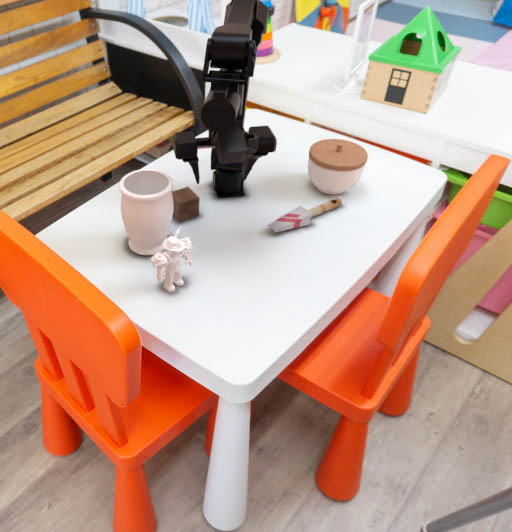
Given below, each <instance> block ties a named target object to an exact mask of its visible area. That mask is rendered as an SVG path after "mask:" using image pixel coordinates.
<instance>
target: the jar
mask: <svg viewBox="0 0 512 532" xmlns="http://www.w3.org/2000/svg"><path fill="white" fill-rule="evenodd" d="M118 186H119V192H120V193H121V197H120V215H121V219H122V223H123V226H124V230H125V233H126V236H127V237H128V242H127V243H128V246H129V247H128V248H129V249H130V250H131V251H132V252H133V253H135V254H137V255H139V256H154V255H156V254H157V253H158V252H162V253H163V251H165V249H164V247H163V242H164V240H165V239H168V237H169V234H170V231H171V227H172V221H173V218H174V216H173V196H172V191H173V189H174V179H173V177H172V176H171V175H170V174H169V173H167V172H166V171H163V170H161V169H155V168H143V169H142V168H141V169H137V170H132V171H130V172H128V173H127V174H125V175H124V176H123V177H122V178H121V179H120V180H119V185H118Z"/></svg>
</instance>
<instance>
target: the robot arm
mask: <svg viewBox="0 0 512 532" xmlns="http://www.w3.org/2000/svg"><path fill="white" fill-rule="evenodd" d="M268 23H269V6H268V5H266V4H265V3H263V1H261V0H231V1H229V3H228V4H227V5H226V6H225V11H224V19H223V24H222V25H219V26H216V27H215V28H214V30H213V31H212V33H211V36H210V37H208V38H207V40H206V47H205V53H204V61H203V68H202V74H201V76H202V77H201V82H202V83H210V88H209V91H208V93H207V96H206V98H205V100H204V103H203V104H202V107H201V110H200V120H201V123H202V124H203V126H204V128H206V129H207V130H208V137H207V136H206V137H196V136H195V132H194V131H191V130H190V131H178V132H174V133H173V135H172V137H171V145H172V150H173V153H174V157H175V159H176V160H182V162H183V163H188V164H189V165H190V167H191V169H192V172H193V175H194V178H195V182H196V184H197V185H199V184H200V180H201V179H200V178H201V177H200V168H199V167H200V166H199V162H200V160H199V156H198V151H199V150H200V149H201V150H202V149H211V150H210V151H211V152H210V170H211V171H212V184H211V185H212V189H213V191H214V192H215V194H216V197H217V198H219V199H223V198H233V197H244V196H245V195H246V191H245V189H244V187H245V186H244V185H245V181H246V180H247V178H248V176H249V174H250V173H251V171H252V170H253V167H254V165H255V164H256V162H257V161H258V160H259V159H260V158H262V157H267V156H268V155H269V153H274V152H276V150H277V145H278V141H277V136H276V135H275V134H274V132H273V130H272V128H271V127H270V126H269V125H255V126H250V127H249V128H248V130H247V131H246V129H245V128H244V127H245V118H246V112H247V104H248V102H247V101H248V95H249V87H250V81H251V80H250V79H251V78H254V74H255V68H256V63H257V56H258V49H259V47H260V46H261V45H262V43H263V37H264V35H266V34H267V32H268V25H269V24H268ZM212 69H219V70H212Z"/></svg>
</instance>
